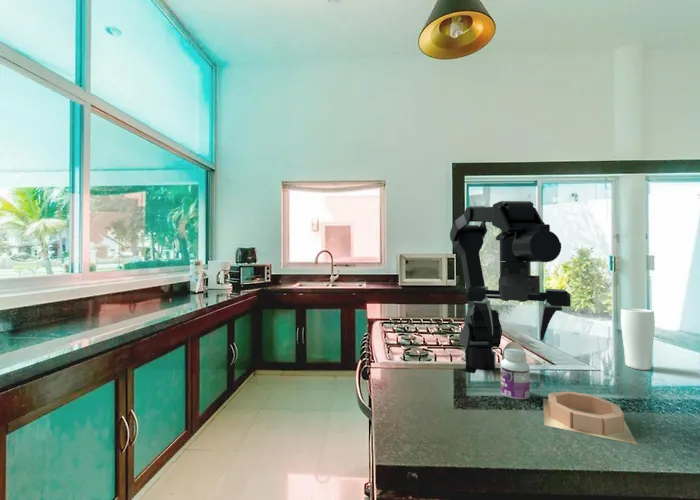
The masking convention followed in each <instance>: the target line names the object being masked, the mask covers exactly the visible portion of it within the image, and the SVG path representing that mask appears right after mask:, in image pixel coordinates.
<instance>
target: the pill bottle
mask: <svg viewBox="0 0 700 500" xmlns="http://www.w3.org/2000/svg"><path fill="white" fill-rule="evenodd" d="M503 350H504V349H503ZM524 351H525V350H524ZM524 351H522V350H518V349H505V350H504V357H505V359H503V360H502V359H501V362H500V392H501V394H502V395H503V396H505V397H508V398H510V399H515V400H516V399H517V400H526V399H529V398H530V396H531V395H530V394H531V393H530V389H531V388H530V387H531V386H530V385H531V384H530V383H531V382H530V380H531V379H530V378H531V377H530V376H531V375H530V374H531V373H530V372H531V371H530V365H529V363H528V362H525V361H524V360H525V359H526V358H527V355H526V354H527V353H526V351H525V352H524Z"/></svg>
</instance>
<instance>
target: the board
mask: <svg viewBox="0 0 700 500" xmlns="http://www.w3.org/2000/svg"><path fill="white" fill-rule="evenodd" d="M542 402H543V423H544V424H543V426H546V427H551V428H555V429H561V430H565V431H570V432H575V433H580V434H584V435H589V436H593V437H597V438H598V437H599V438H603V439H608V440H613V441H617V442H621V443H622V442H623V443H625V444H626V443H627V444H631V445H637V446H638V443H637V441H636V440H635V437H634V436H633V434H632V431H631V429H630V428H629V426H628V424H627V422H626V420H625V419H624V431H623V432H619V433H614V434H609V435H604V434H602V435H600V434H595V433H590V432H586V431H581V430H576V429H573V427H572V428H569V427H568V426H566V425H564V424H562V423H560V422H558V421H557V420H555V419H553V418H551V417H550V416H549V408H548V398H542ZM568 408H569V409H571V410H574V411H578V412H583V413H589V414H594V415H599V414H597V413H595V412H593V411H589V410H583V409H578V408H572V407H568Z"/></svg>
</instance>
